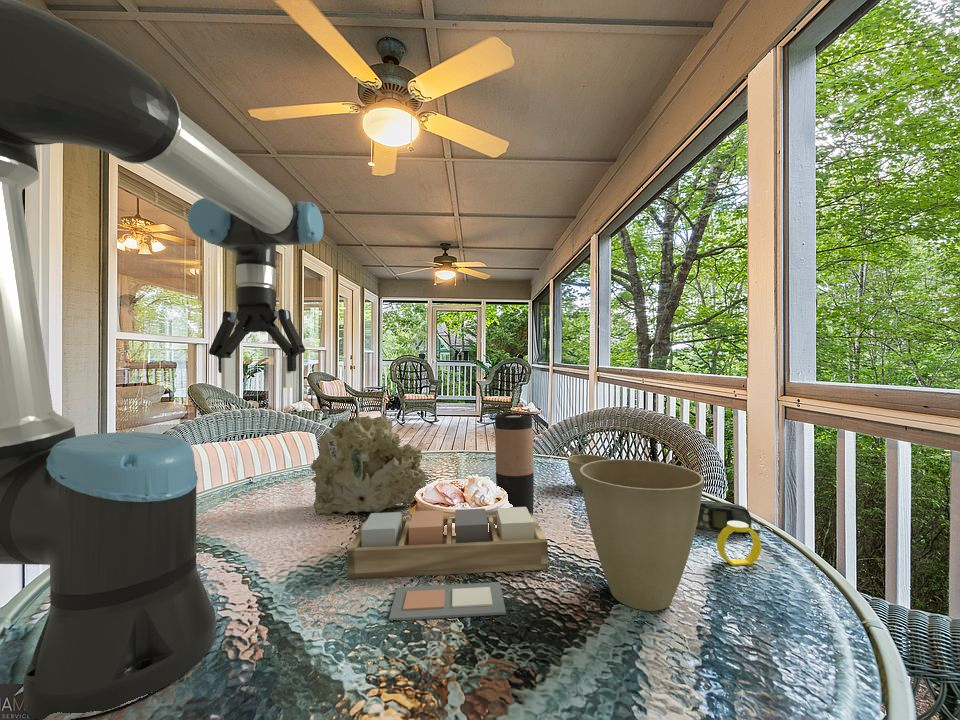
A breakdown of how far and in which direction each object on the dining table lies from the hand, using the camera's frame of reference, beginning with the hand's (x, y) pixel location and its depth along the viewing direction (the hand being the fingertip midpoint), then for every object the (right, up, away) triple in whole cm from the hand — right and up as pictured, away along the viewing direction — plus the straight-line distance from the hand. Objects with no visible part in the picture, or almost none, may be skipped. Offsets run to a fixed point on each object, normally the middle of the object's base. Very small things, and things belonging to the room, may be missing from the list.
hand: (257, 388), depth 88 cm
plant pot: (+68, -25, -34) cm, 80 cm away
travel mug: (+54, -25, -4) cm, 60 cm away
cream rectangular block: (+53, -22, -21) cm, 61 cm away
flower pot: (+73, -25, +12) cm, 78 cm away
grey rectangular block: (+46, -22, -22) cm, 55 cm away
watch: (+86, -24, -26) cm, 93 cm away
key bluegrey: (+32, -22, -22) cm, 45 cm away
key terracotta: (+39, -22, -22) cm, 50 cm away
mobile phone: (+88, -25, -14) cm, 93 cm away
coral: (+24, -26, 0) cm, 36 cm away
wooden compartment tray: (+42, -25, -22) cm, 54 cm away
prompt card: (+43, -25, -35) cm, 61 cm away
